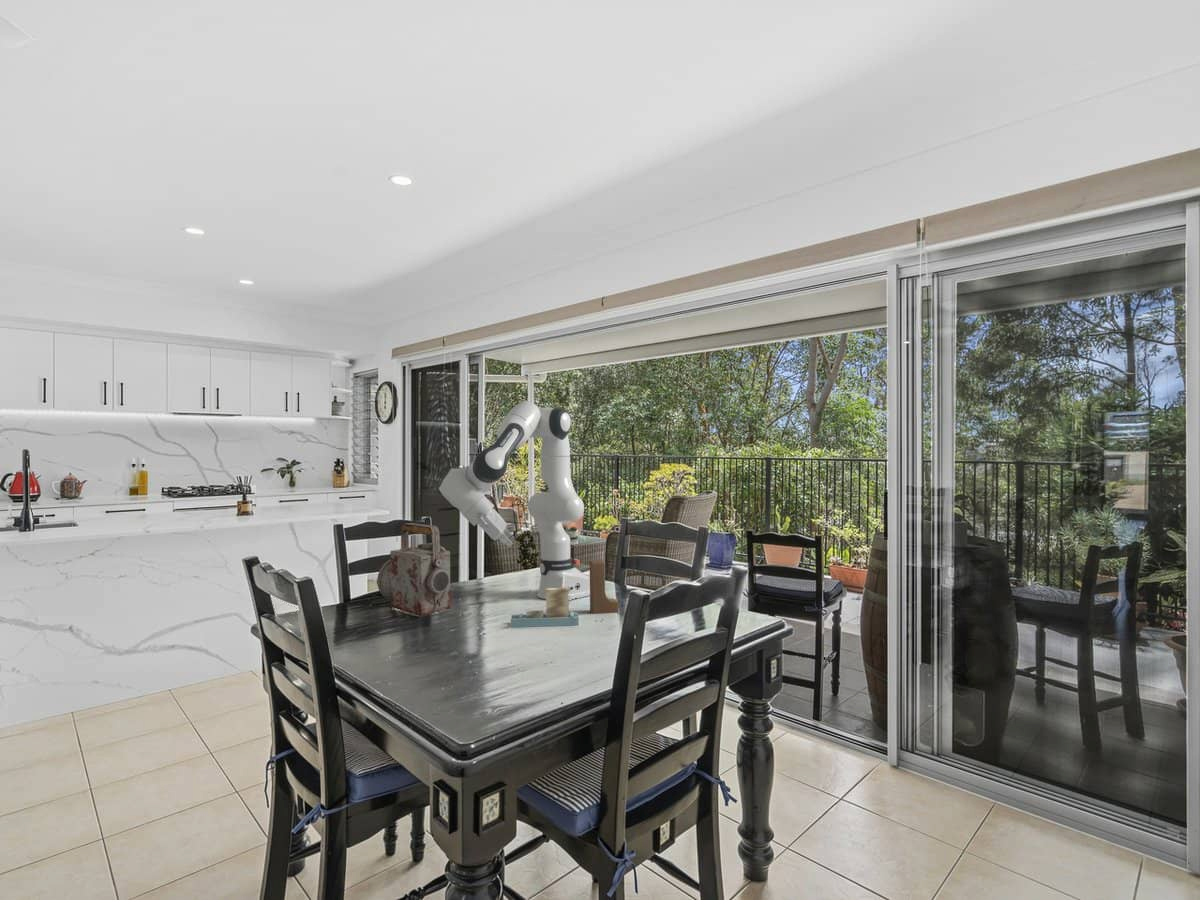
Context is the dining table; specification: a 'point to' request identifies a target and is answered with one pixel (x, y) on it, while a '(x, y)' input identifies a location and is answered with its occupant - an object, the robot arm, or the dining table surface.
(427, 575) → the lantern
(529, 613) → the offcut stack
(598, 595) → the wooden block
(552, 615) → the beige rectangular slab
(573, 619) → the rack
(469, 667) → the dining table surface
